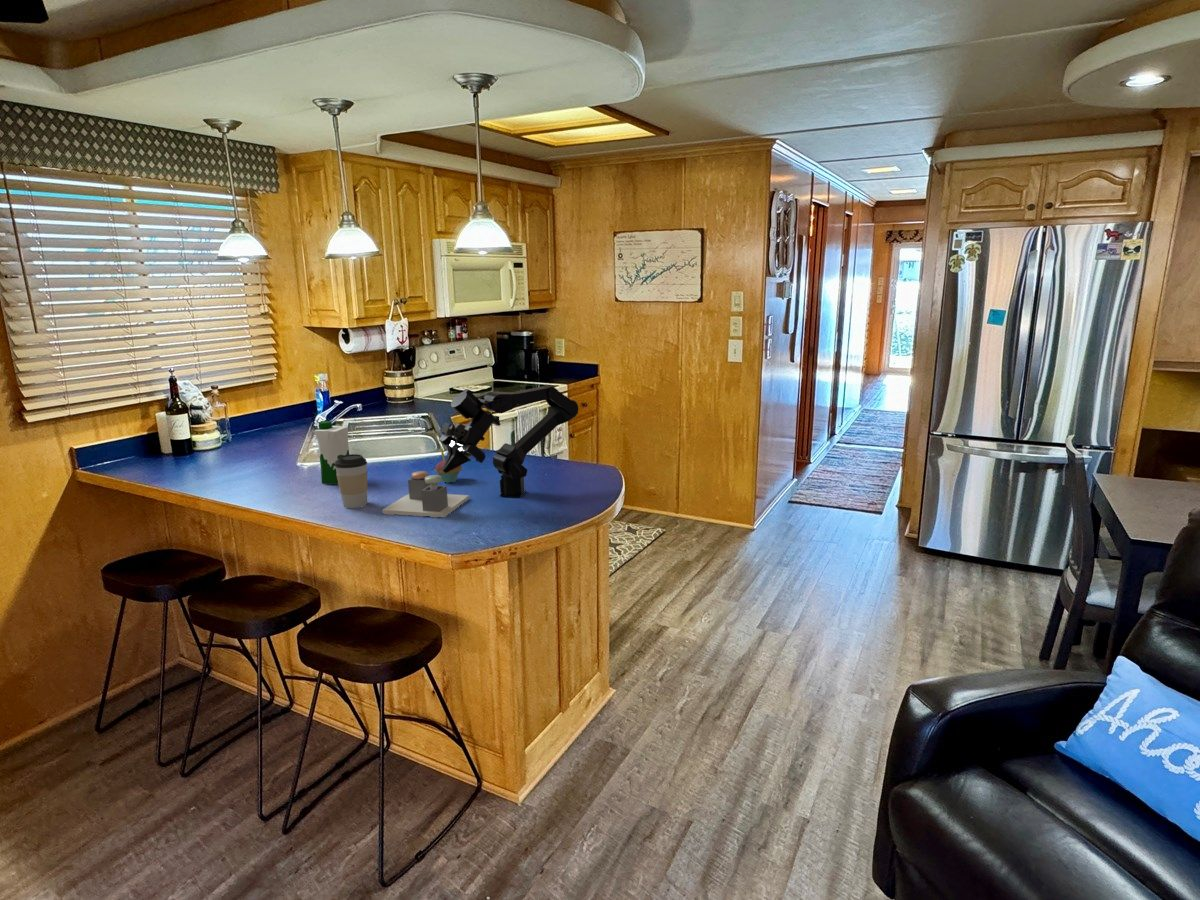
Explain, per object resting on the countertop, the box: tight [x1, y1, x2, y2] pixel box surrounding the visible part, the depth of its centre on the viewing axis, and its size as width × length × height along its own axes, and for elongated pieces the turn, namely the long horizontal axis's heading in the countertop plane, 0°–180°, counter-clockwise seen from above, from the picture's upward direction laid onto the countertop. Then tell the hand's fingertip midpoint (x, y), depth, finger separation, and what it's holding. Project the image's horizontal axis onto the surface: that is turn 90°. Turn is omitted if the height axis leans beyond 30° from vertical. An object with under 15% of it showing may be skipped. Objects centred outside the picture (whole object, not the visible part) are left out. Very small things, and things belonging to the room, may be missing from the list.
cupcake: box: [434, 445, 463, 484], centre depth 226 cm, size 9×8×12 cm
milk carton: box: [313, 420, 350, 485], centre depth 227 cm, size 9×9×20 cm
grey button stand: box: [382, 477, 470, 518], centre depth 201 cm, size 19×17×7 cm
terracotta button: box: [411, 470, 429, 480], centre depth 206 cm, size 5×5×7 cm
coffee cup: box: [335, 453, 369, 509], centre depth 203 cm, size 9×9×15 cm
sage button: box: [425, 474, 442, 491], centre depth 195 cm, size 5×5×7 cm
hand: (444, 471), depth 196 cm, fingers closed
